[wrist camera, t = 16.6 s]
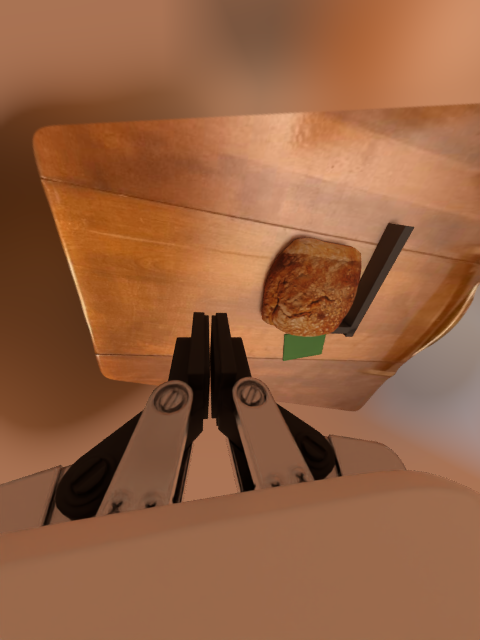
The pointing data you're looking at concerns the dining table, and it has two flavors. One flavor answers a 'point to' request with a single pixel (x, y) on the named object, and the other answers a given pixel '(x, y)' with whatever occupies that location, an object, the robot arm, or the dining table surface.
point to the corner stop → (374, 275)
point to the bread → (311, 287)
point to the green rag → (302, 346)
